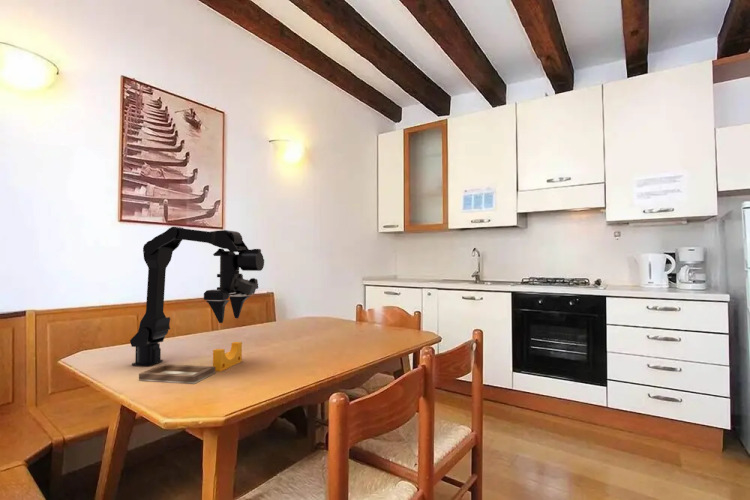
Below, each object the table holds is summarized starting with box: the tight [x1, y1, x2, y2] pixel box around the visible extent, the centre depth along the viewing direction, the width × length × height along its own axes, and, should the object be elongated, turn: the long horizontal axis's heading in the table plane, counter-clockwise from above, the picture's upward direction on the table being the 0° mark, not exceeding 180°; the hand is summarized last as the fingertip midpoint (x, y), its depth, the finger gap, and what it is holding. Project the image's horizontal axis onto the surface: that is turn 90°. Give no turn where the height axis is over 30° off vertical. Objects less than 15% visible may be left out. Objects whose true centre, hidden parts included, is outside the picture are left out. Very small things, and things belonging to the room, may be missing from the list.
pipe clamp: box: [212, 341, 243, 373], centre depth 124 cm, size 12×4×6 cm, turn 169°
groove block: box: [138, 363, 216, 385], centre depth 112 cm, size 17×10×2 cm, turn 81°
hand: (229, 320), depth 122 cm, fingers open, 9 cm apart
